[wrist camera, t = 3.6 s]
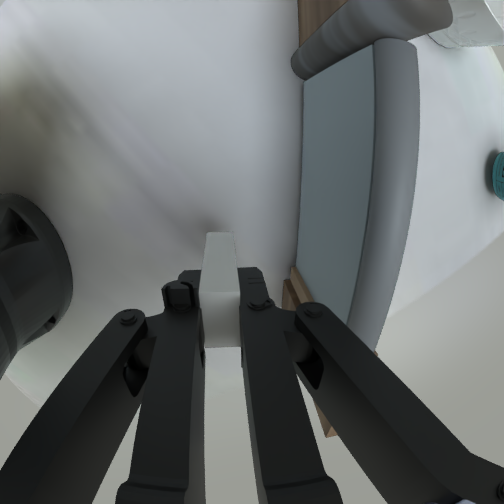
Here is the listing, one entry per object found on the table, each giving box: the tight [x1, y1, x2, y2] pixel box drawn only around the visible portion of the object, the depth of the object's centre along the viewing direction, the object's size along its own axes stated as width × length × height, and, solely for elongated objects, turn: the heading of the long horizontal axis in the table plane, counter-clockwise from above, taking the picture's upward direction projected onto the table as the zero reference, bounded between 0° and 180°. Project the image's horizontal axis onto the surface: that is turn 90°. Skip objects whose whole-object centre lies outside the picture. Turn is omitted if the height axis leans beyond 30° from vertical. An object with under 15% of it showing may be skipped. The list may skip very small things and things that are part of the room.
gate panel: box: [290, 38, 420, 356], centre depth 15 cm, size 16×2×12 cm, turn 0°
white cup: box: [428, 0, 504, 48], centre depth 10 cm, size 8×8×10 cm
